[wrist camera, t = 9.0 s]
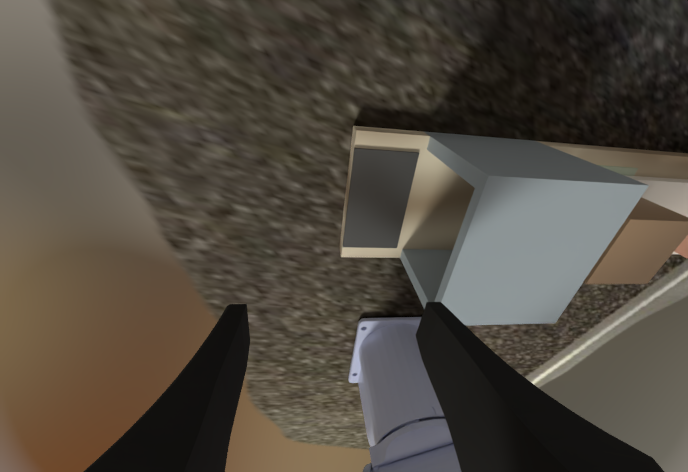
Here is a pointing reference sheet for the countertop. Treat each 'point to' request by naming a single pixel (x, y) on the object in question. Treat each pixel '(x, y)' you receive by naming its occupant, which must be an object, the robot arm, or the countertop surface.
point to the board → (440, 189)
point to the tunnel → (520, 230)
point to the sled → (646, 235)
